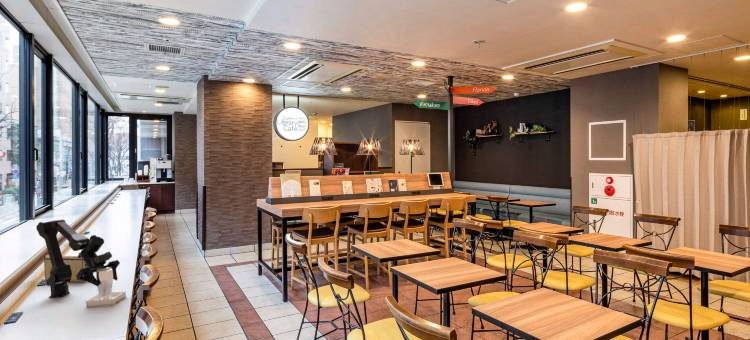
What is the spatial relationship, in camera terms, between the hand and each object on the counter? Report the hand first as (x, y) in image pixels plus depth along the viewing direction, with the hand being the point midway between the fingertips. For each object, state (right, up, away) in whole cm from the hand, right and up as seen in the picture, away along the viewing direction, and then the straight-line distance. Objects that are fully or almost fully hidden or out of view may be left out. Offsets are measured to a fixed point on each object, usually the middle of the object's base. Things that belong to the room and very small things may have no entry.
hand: (107, 282), depth 197 cm
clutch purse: (-48, -10, +39) cm, 63 cm away
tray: (-1, -10, +1) cm, 10 cm away
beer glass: (-1, -9, 0) cm, 9 cm away
